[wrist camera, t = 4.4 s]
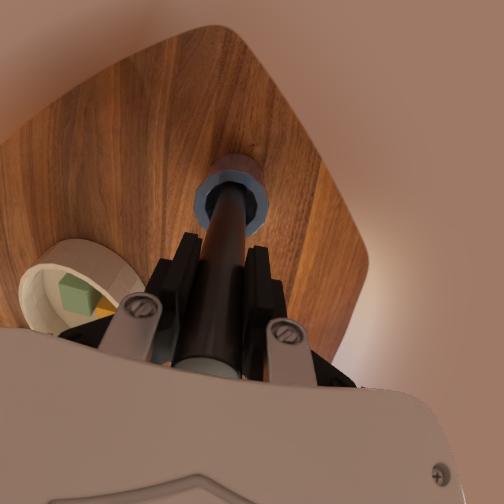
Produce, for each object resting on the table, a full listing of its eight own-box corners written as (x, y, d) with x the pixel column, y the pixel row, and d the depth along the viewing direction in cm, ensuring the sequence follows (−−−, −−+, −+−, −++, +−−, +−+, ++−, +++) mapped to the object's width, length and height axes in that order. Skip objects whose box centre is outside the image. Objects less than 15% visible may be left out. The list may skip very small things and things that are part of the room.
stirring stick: (226, 166, 24) (170, 348, 7) (249, 171, 25) (248, 362, 7) (222, 188, 25) (169, 390, 8) (244, 192, 25) (235, 401, 8)
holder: (213, 148, 26) (200, 164, 19) (268, 159, 26) (275, 179, 19) (204, 199, 28) (189, 233, 21) (256, 209, 29) (258, 246, 22)
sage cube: (73, 265, 31) (57, 283, 27) (99, 271, 31) (86, 291, 28) (76, 290, 33) (63, 309, 29) (102, 297, 33) (90, 317, 30)
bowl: (33, 227, 29) (6, 249, 24) (153, 253, 31) (136, 284, 26) (53, 326, 37) (37, 352, 32) (152, 355, 39) (142, 387, 34)
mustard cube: (108, 287, 32) (95, 307, 29) (137, 294, 33) (127, 315, 29) (110, 311, 34) (99, 331, 31) (138, 318, 35) (129, 339, 31)
